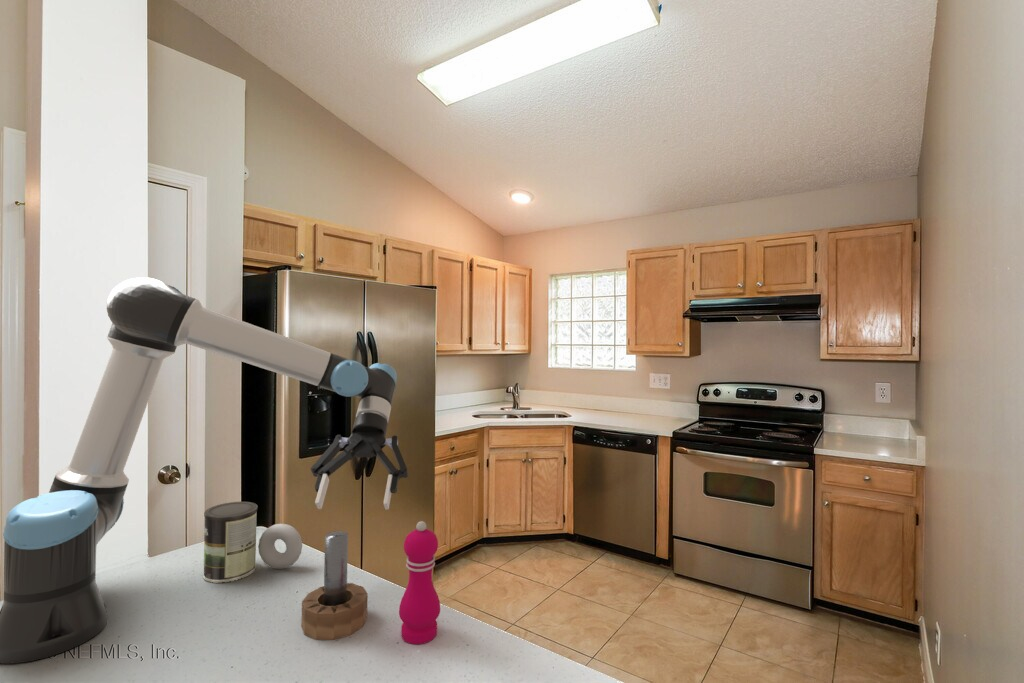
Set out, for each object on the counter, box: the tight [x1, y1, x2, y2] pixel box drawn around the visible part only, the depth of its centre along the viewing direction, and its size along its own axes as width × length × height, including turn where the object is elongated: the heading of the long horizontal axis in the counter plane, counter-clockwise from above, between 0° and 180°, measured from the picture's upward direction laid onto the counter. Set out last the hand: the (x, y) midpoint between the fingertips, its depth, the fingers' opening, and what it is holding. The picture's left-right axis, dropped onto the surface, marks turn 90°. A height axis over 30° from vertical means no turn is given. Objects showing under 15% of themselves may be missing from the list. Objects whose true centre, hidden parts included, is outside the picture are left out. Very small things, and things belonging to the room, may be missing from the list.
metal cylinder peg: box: [323, 530, 349, 606], centre depth 92 cm, size 4×4×16 cm
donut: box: [257, 523, 303, 570], centre depth 113 cm, size 10×4×10 cm, turn 84°
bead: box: [301, 582, 369, 641], centre depth 92 cm, size 11×11×4 cm
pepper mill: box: [398, 520, 441, 645], centre depth 89 cm, size 7×7×20 cm
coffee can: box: [202, 501, 259, 584], centre depth 111 cm, size 10×10×14 cm
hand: (352, 506), depth 101 cm, fingers open, 13 cm apart
